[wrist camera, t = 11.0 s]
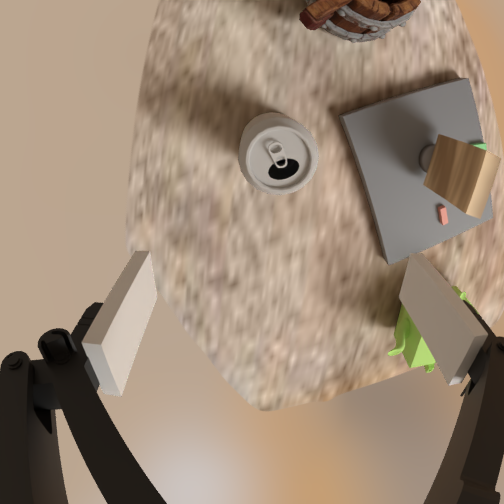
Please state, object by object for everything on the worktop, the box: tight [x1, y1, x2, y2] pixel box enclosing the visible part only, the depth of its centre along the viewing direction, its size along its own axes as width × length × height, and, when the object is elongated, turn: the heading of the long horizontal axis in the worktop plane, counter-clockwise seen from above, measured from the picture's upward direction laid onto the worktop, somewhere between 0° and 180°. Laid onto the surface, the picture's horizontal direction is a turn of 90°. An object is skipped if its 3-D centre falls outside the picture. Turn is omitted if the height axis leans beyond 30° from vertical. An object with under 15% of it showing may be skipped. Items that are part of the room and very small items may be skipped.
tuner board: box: [338, 78, 493, 265], centre depth 38 cm, size 22×20×3 cm
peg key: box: [419, 134, 501, 219], centre depth 32 cm, size 11×7×12 cm, turn 78°
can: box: [238, 112, 319, 195], centre depth 33 cm, size 8×8×12 cm
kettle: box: [388, 286, 483, 373], centre depth 45 cm, size 15×14×11 cm
